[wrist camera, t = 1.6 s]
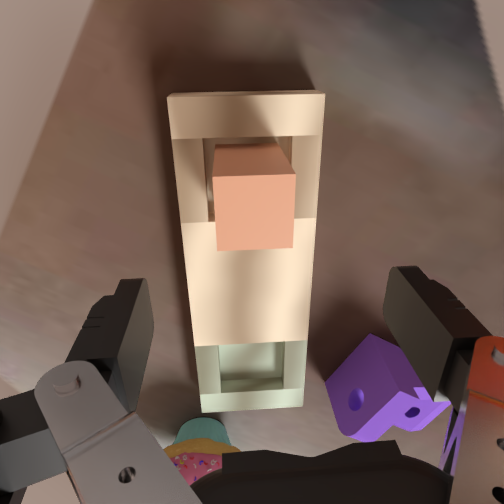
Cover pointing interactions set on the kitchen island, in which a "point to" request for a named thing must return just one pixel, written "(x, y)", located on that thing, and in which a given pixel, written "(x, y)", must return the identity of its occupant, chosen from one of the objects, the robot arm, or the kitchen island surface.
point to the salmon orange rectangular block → (253, 197)
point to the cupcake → (199, 448)
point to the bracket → (379, 392)
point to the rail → (247, 261)
